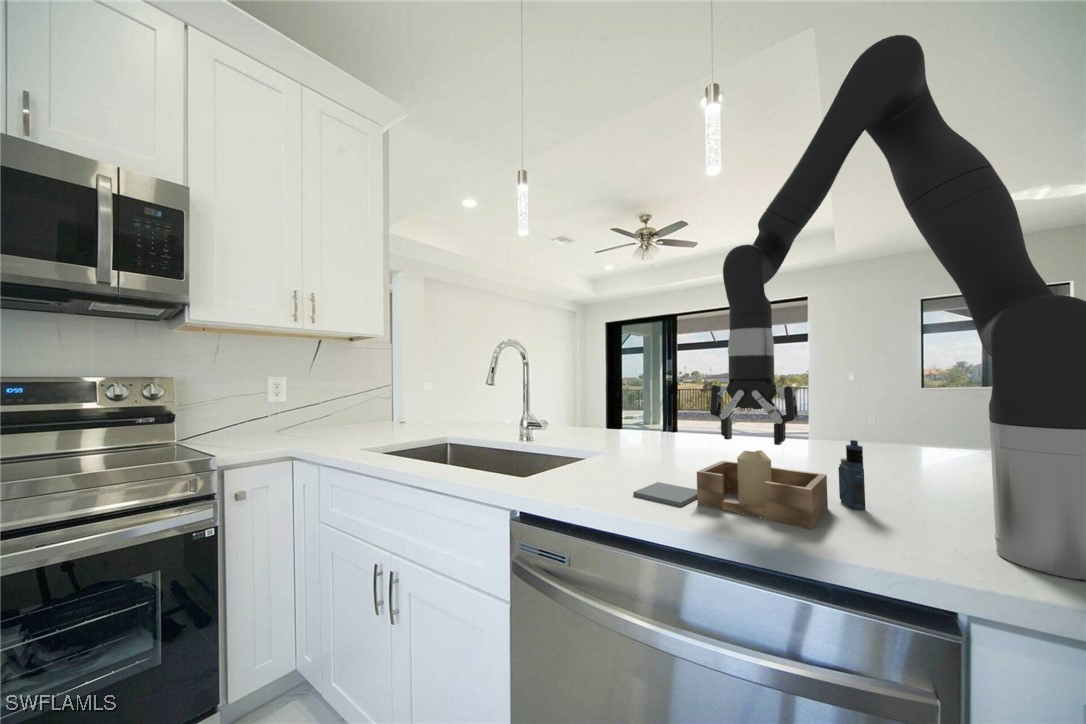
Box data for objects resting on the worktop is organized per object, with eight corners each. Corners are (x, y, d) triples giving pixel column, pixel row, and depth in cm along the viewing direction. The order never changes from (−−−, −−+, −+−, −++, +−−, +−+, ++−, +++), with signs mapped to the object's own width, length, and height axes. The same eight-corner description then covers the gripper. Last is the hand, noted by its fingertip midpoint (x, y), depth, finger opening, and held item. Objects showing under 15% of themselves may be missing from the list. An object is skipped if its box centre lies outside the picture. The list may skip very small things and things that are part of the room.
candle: (764, 500, 76) (762, 447, 76) (778, 510, 70) (776, 453, 71) (734, 500, 76) (732, 447, 77) (745, 509, 71) (743, 453, 71)
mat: (703, 494, 80) (703, 490, 80) (681, 506, 73) (681, 502, 73) (657, 485, 87) (657, 482, 87) (633, 495, 80) (633, 491, 80)
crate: (827, 508, 71) (826, 474, 71) (812, 529, 62) (810, 489, 62) (723, 489, 84) (722, 460, 84) (697, 504, 74) (696, 471, 74)
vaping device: (851, 510, 70) (849, 441, 70) (837, 501, 75) (835, 437, 75) (869, 511, 69) (866, 442, 70) (853, 502, 74) (850, 437, 75)
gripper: (799, 353, 72) (801, 443, 72) (719, 356, 82) (720, 435, 81) (789, 352, 67) (791, 449, 66) (704, 354, 77) (705, 439, 76)
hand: (751, 441), depth 74 cm, fingers open, 8 cm apart
